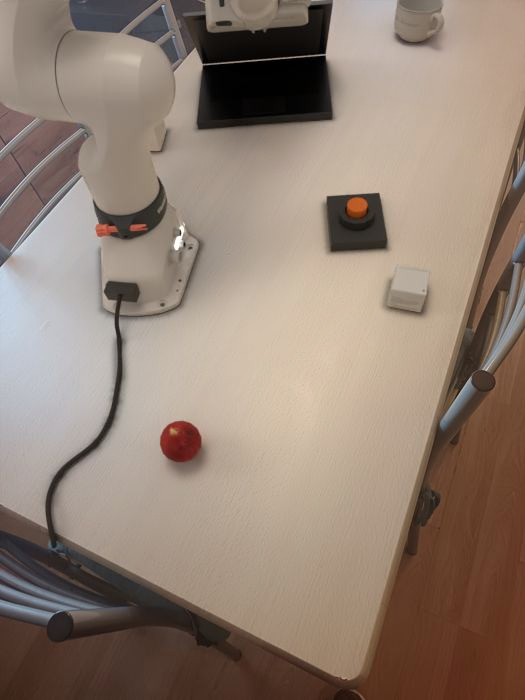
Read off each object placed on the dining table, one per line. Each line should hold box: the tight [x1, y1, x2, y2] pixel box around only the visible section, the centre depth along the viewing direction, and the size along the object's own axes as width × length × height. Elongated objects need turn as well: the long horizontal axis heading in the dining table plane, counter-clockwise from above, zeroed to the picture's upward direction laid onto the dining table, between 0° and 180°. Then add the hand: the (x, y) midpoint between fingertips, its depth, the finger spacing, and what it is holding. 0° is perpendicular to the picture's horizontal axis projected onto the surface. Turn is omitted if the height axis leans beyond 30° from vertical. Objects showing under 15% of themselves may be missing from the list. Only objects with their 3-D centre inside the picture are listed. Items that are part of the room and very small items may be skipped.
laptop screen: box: [182, 0, 334, 65], centre depth 110 cm, size 22×30×1 cm
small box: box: [386, 263, 431, 313], centre depth 83 cm, size 6×6×5 cm
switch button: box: [347, 198, 368, 219], centre depth 90 cm, size 4×4×2 cm
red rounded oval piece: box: [159, 420, 202, 463], centre depth 71 cm, size 6×6×8 cm
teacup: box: [393, 0, 445, 43], centre depth 120 cm, size 14×11×8 cm
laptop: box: [196, 54, 333, 130], centre depth 116 cm, size 22×30×2 cm
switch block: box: [325, 192, 388, 252], centre depth 92 cm, size 12×10×4 cm
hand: (259, 28), depth 104 cm, fingers closed, pressing on laptop screen
